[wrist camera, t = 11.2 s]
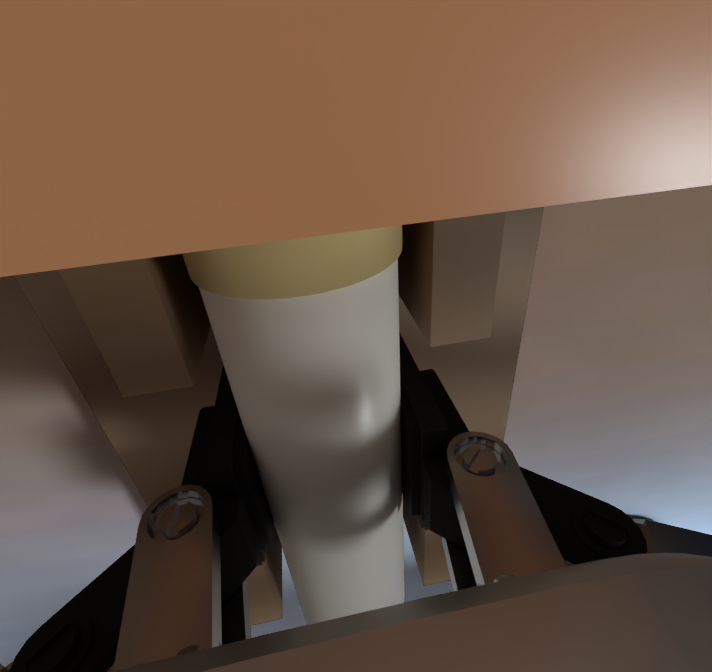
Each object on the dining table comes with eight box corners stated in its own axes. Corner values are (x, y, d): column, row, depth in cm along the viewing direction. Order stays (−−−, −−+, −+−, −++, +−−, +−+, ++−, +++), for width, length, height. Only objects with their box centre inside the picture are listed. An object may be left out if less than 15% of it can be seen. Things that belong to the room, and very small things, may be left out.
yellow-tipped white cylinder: (391, 532, 15) (421, 643, 12) (297, 553, 14) (303, 672, 12) (370, 102, 7) (438, 111, 4) (173, 122, 7) (99, 145, 4)
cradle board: (483, 467, 19) (552, 591, 14) (182, 527, 17) (146, 688, 13) (548, 11, 10) (799, -67, 5) (-70, 57, 8) (-519, 10, 4)
